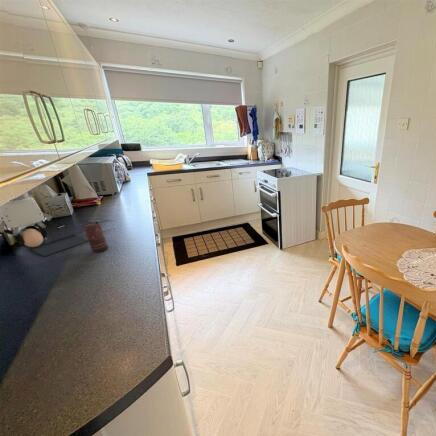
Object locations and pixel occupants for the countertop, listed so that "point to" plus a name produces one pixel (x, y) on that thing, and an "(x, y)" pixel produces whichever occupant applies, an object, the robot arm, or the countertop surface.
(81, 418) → the countertop surface
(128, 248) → the countertop surface
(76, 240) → the placemat
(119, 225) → the countertop surface
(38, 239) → the egg
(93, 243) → the can
